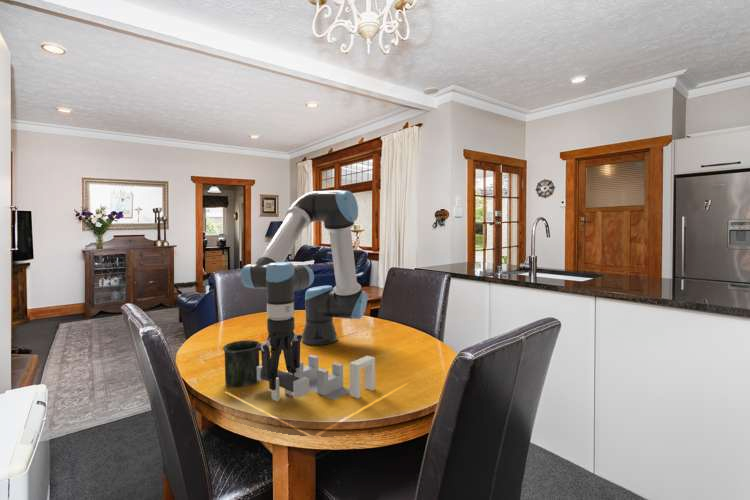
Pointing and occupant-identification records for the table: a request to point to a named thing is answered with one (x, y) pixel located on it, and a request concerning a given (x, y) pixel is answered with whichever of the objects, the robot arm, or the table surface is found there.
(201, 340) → the table surface
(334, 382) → the cradle
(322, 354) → the table surface
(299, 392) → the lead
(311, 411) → the table surface
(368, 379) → the u-shaped clip
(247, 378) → the mug
